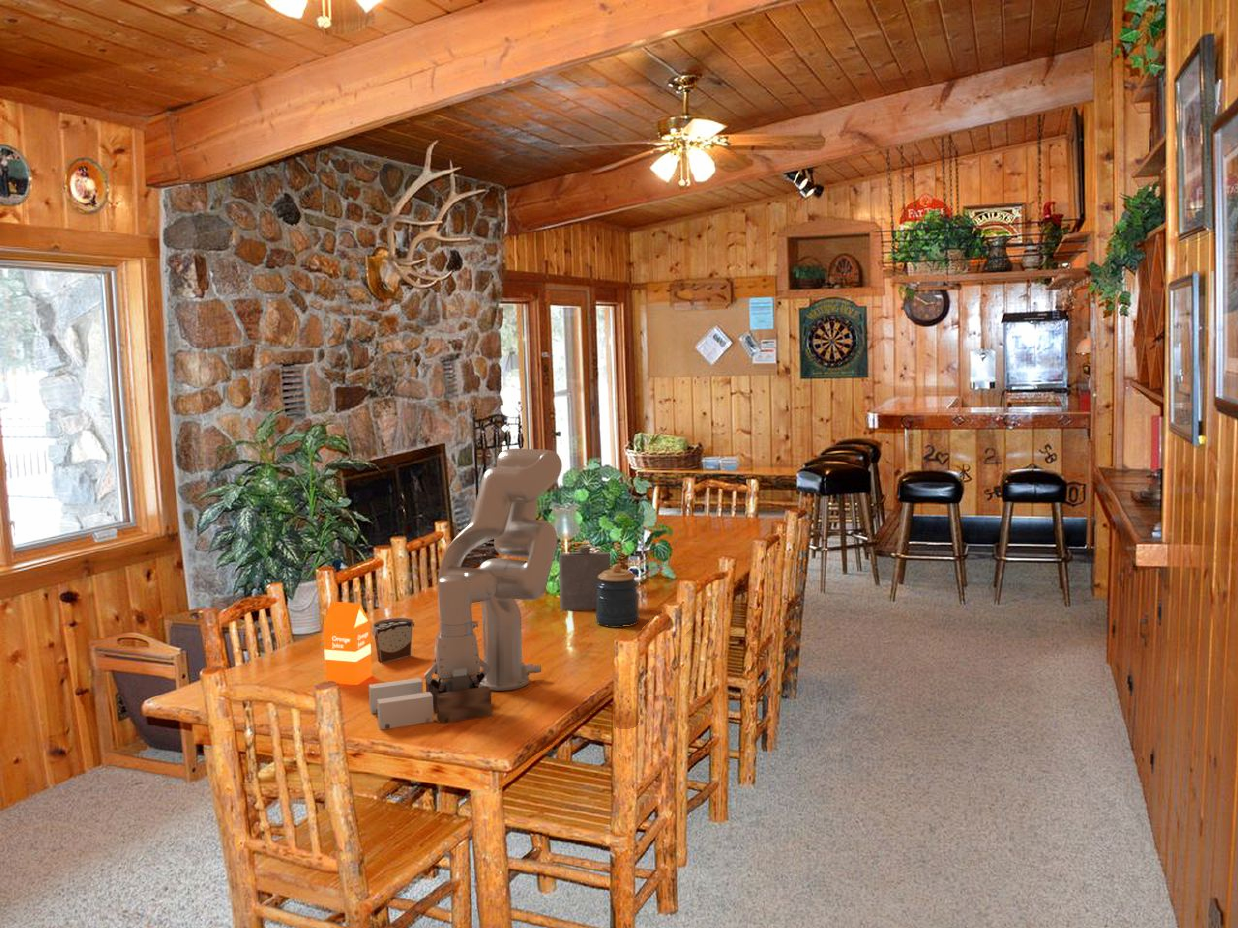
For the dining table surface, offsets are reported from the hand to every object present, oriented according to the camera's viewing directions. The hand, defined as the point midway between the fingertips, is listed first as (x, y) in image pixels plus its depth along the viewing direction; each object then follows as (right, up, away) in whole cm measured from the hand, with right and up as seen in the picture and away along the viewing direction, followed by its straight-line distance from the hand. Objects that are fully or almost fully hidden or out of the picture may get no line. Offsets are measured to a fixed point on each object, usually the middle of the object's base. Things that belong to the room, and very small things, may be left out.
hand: (458, 702), depth 256 cm
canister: (+37, +8, +73) cm, 82 cm away
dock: (-13, -2, -3) cm, 13 cm away
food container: (-25, +3, +42) cm, 49 cm away
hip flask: (+27, +10, +89) cm, 94 cm away
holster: (0, -2, 0) cm, 2 cm away
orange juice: (-31, +1, +24) cm, 39 cm away
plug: (0, -2, 0) cm, 2 cm away
